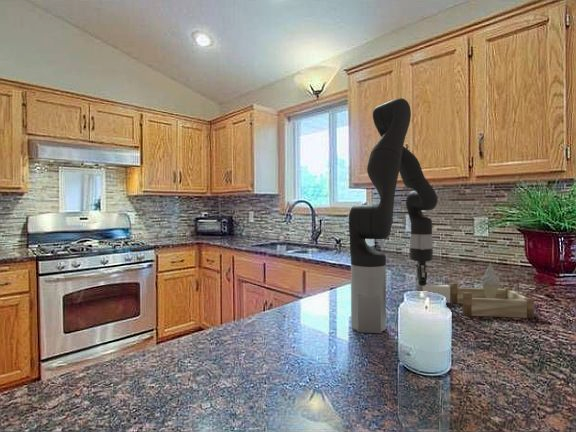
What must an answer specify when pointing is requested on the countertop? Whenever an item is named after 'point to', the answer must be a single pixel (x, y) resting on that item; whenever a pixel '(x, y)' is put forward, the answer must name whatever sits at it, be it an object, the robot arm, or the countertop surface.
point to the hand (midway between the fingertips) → (421, 295)
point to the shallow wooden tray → (492, 302)
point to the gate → (436, 290)
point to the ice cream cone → (490, 282)
